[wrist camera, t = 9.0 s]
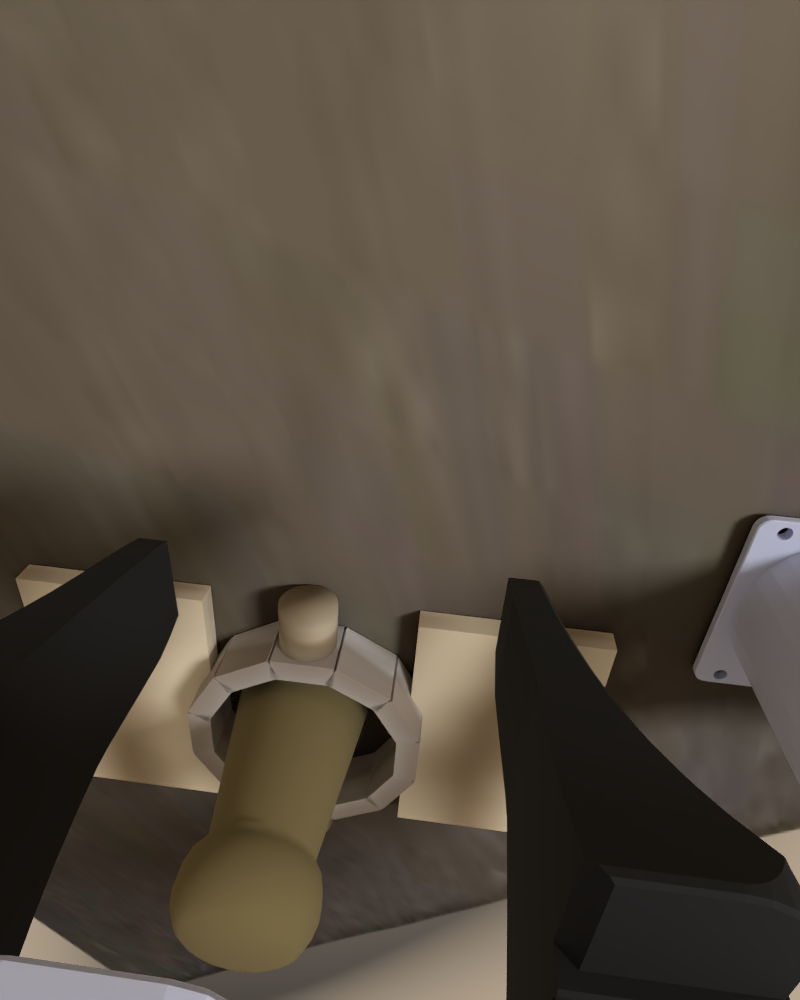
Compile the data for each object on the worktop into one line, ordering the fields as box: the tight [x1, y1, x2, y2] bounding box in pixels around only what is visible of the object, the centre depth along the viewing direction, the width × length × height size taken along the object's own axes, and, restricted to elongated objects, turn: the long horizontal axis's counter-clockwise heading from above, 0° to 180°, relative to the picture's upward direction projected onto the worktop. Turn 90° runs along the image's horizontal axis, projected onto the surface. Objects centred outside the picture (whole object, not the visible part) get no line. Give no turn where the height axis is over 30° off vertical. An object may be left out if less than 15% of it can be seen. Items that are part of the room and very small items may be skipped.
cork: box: [169, 679, 369, 972], centre depth 26 cm, size 6×6×11 cm
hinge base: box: [16, 564, 617, 832], centre depth 30 cm, size 25×14×2 cm, turn 86°
